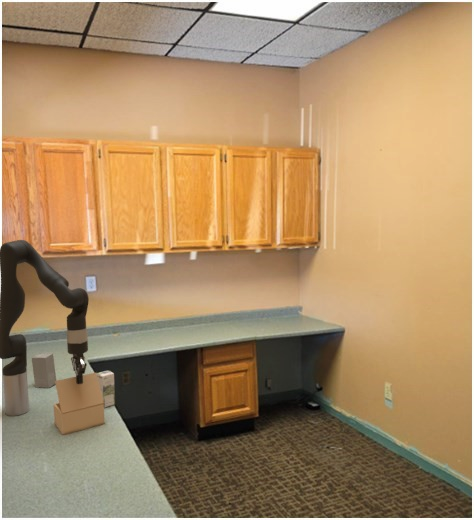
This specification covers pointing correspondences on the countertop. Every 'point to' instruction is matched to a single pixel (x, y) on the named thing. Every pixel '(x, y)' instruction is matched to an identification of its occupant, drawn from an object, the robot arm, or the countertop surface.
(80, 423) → the carton
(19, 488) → the countertop surface
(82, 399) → the lid
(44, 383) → the skincare box
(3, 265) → the robot arm
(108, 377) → the syrup box
